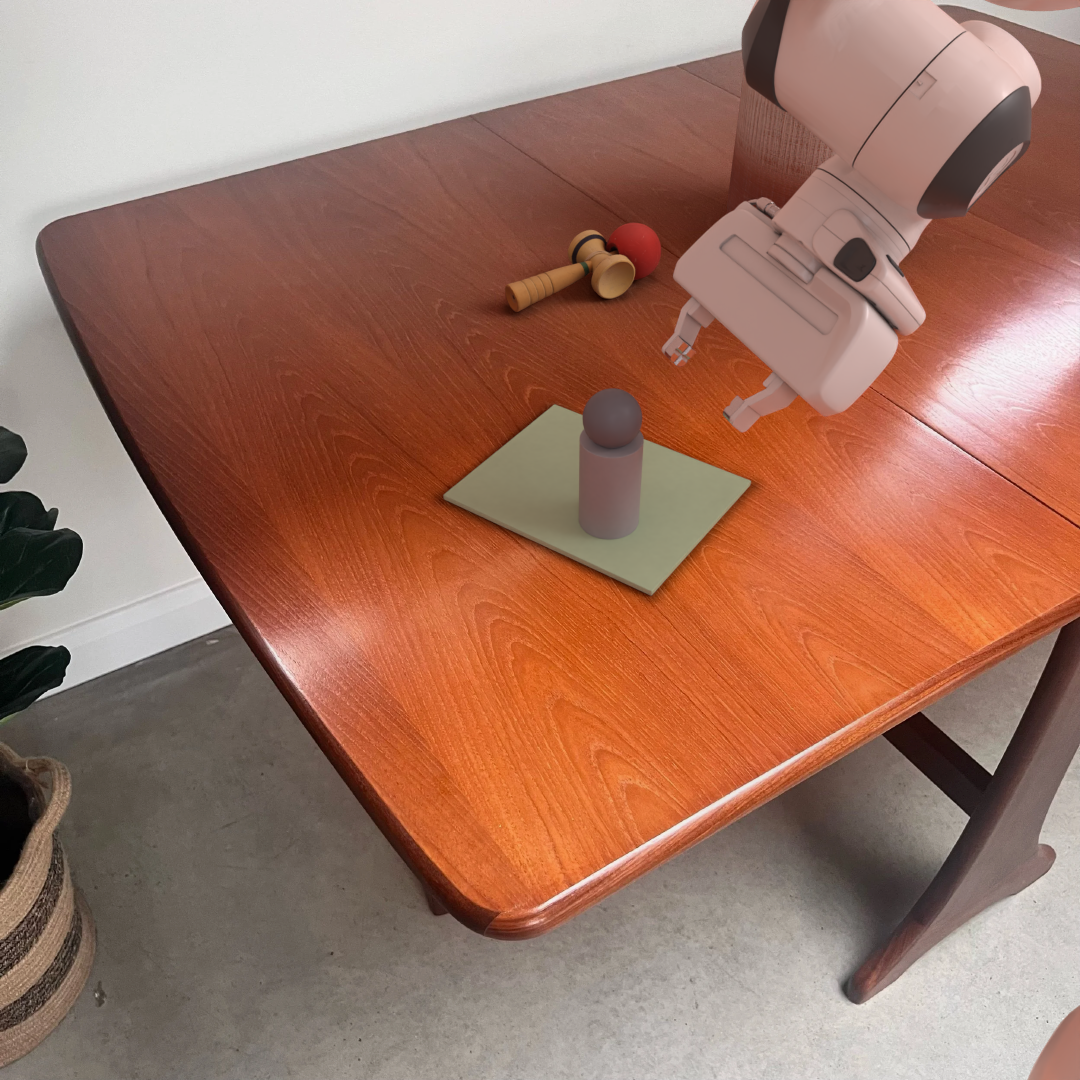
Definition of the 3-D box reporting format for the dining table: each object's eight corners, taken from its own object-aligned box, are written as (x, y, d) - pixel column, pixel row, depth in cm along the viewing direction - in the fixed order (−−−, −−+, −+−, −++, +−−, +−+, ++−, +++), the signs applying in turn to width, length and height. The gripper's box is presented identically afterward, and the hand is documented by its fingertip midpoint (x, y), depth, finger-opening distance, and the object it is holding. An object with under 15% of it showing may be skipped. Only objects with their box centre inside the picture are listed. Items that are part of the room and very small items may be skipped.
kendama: (536, 340, 107) (680, 276, 112) (521, 283, 103) (671, 219, 108) (503, 320, 113) (642, 259, 118) (489, 265, 109) (632, 205, 114)
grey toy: (650, 514, 83) (658, 388, 75) (617, 547, 81) (623, 419, 73) (599, 493, 86) (603, 368, 78) (566, 524, 83) (567, 398, 75)
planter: (737, 186, 132) (757, 15, 119) (919, 203, 127) (960, 27, 114) (711, 265, 116) (730, 78, 103) (917, 288, 111) (964, 95, 98)
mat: (750, 485, 87) (751, 480, 86) (651, 596, 77) (651, 591, 77) (554, 408, 96) (554, 403, 95) (443, 499, 86) (442, 494, 86)
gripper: (734, 165, 79) (613, 306, 83) (901, 283, 65) (747, 447, 69) (776, 211, 84) (660, 343, 87) (942, 331, 69) (795, 483, 73)
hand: (699, 390), depth 78 cm, fingers open, 8 cm apart
